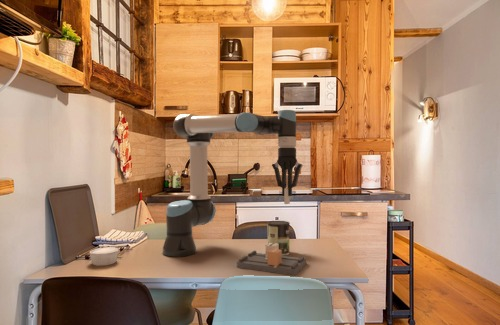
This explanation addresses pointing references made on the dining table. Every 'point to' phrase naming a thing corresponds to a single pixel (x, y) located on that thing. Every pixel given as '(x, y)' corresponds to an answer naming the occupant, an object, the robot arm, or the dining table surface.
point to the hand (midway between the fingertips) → (287, 203)
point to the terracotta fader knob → (274, 257)
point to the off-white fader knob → (271, 247)
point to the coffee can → (279, 235)
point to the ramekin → (104, 256)
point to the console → (261, 263)
